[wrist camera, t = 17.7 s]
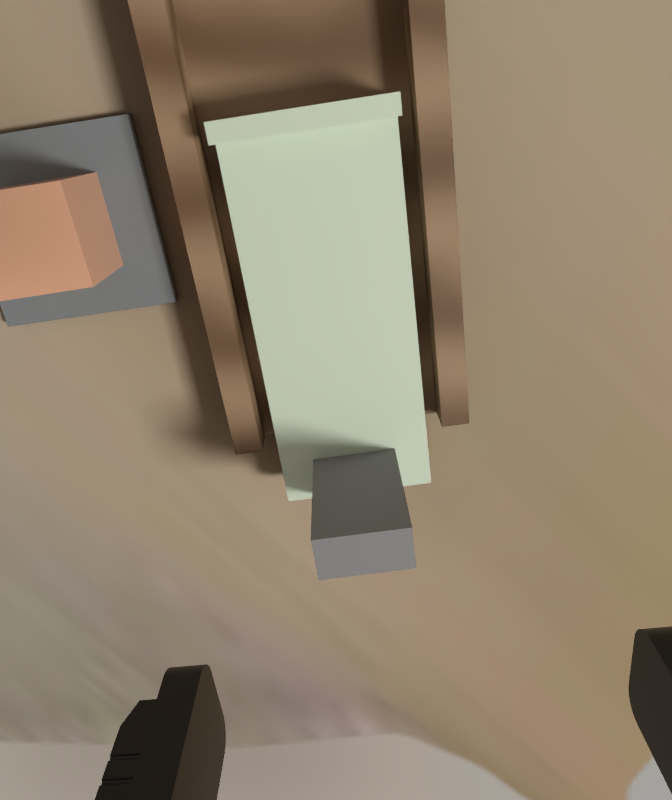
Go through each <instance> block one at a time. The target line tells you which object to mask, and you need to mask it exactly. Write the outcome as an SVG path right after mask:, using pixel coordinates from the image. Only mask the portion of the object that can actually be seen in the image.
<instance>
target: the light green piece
mask: <svg viewBox="0 0 672 800" xmlns="http://www.w3.org/2000/svg"><path fill="white" fill-rule="evenodd" d="M398 116H402V104H401V93H400V91H399V92H393V93H386V94H380V95H374V96H367V97H361V98H354V99H348V100H342V101H335V102H329V103H322V104H316V105H310V106H303V107H297V108H291V109H284V110H278V111H271V112H265V113H259V114H252V115H246V116H239V117H233V118H227V119H220V120H214V121H208V122H204V127H205V131H206V136H207V141H208V146H209V145H216V150H217V154H218V159H219V164H220V169H221V174H222V179H223V184H224V189H225V193H226V198H227V203H228V208H229V213H230V218H231V223H232V227H233V232H234V237H235V242H236V247H237V252H238V257H239V262H240V266H241V271H242V276H243V281H244V286H245V291H246V296H247V301H248V305H249V310H250V315H251V320H252V325H253V330H254V335H255V339H256V344H257V349H258V354H259V359H260V364H261V369H262V374H263V378H264V383H265V388H266V393H267V398H268V403H269V408H270V413H271V417H272V422H273V427H274V432H275V437H276V442H277V447H278V451H279V456H280V461H281V466H282V471H283V476H284V481H285V486H286V490H287V495H288V500H289V501H294V500H302V499H310V498H312V522H311V543H312V548H313V554H314V559H315V564H316V569H317V574H318V579H319V580H324V579H332V578H340V577H348V576H356V575H364V574H372V573H380V572H388V571H396V570H404V569H412V568H416V559H415V550H414V541H413V532H412V525H411V521H410V516H409V511H408V507H407V502H406V498H405V493H404V488H403V486H409V485H417V484H425V483H431V475H430V464H429V453H428V442H427V431H426V421H425V410H424V399H423V388H422V377H421V366H420V355H419V344H418V333H417V322H416V311H415V300H414V289H413V278H412V267H411V256H410V245H409V234H408V223H407V212H406V201H405V190H404V179H403V168H402V157H401V147H400V136H399V125H398Z"/></svg>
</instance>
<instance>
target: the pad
mask: <svg viewBox="0 0 672 800" xmlns="http://www.w3.org/2000/svg"><path fill="white" fill-rule="evenodd" d="M93 172H97V176H98V179H99V182H100V186H101V189H102V193H103V196H104V200H105V203H106V207H107V210H108V214H109V217H110V220H111V224H112V227H113V231H114V234H115V238H116V241H117V245H118V248H119V252H120V255H121V258H122V262H123V266H122V267H120V268H119V269H118V270H116V271H115V272H113V273H112V274H111V275H109V276H108V277H107V278H105V279H104V280H102V281H101V282H100V283H98V284H97V285H96V286H94V287H90V288H83V289H77V290H70V291H64V292H57V293H51V294H44V295H38V296H31V297H25V298H18V299H12V300H5V301H0V306H1V309H2V312H3V314H4V317H5V320H6V322H7V325H8V327H9V326H16V325H23V324H29V323H36V322H43V321H50V320H57V319H64V318H71V317H78V316H85V315H92V314H99V313H105V312H112V311H119V310H126V309H133V308H140V307H147V306H154V305H161V304H168V303H175V302H176V301H177V300H178V299H177V295H176V291H175V287H174V283H173V279H172V275H171V271H170V268H169V264H168V260H167V256H166V252H165V248H164V244H163V240H162V236H161V232H160V228H159V224H158V220H157V216H156V212H155V208H154V204H153V200H152V196H151V192H150V188H149V184H148V181H147V177H146V173H145V169H144V165H143V161H142V157H141V153H140V149H139V145H138V141H137V137H136V133H135V129H134V125H133V121H132V117H131V114H124V115H118V116H111V117H105V118H99V119H93V120H86V121H80V122H74V123H67V124H61V125H55V126H48V127H42V128H36V129H29V130H23V131H17V132H10V133H4V134H0V188H1V187H6V186H13V185H19V184H25V183H31V182H37V181H44V180H50V179H56V178H62V177H68V176H75V175H81V174H87V173H93Z"/></svg>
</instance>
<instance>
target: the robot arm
mask: <svg viewBox="0 0 672 800" xmlns="http://www.w3.org/2000/svg"><path fill="white" fill-rule="evenodd" d="M629 698H630V703H631V707H632V711H633V714H634V717H635V720H636V722H637V724H638V726H639V728H640V730H641V732H642V734H643V736H644V738H645V741H646V743H647V745H648V747H649V749H650V751H651V753H652V755H653V757H654V759H655V761H656V763H657V765H658V767H659V769H660V771H661V773H662V775H663V777H664V779H665V781H666V783H667V785H668V787H669V789H670V791H671V793H672V627H661V628H649V629H639V630H637V631H636V633H635V638H634V646H633V654H632V663H631V671H630V679H629ZM225 741H226V732H225V721H224V716H223V712H222V709H221V705H220V701H219V698H218V694H217V690H216V687H215V683H214V680H213V676H212V672H211V669H210V667H209V666H208V665H195V666H183V667H171V668H168V669H167V671H166V672H165V674H164V677H163V680H162V684H161V687H160V690H159V694H158V697H157V699H152V700H140V701H139V702H138V704H137V705H136V706H135V708H134V709H133V710H132V711H131V713H130V714H129V715H128V717H127V718H126V719H125V721H124V722H123V723H122V725H121V726H120V729H119V731H118V734H117V737H116V740H115V743H114V746H113V749H112V752H111V755H110V757H111V758H110V761H108V764H107V766H106V769H105V772H104V775H103V778H102V785H101V786H99V789H98V792H97V795H96V798H95V800H217V794H218V789H219V783H220V776H221V771H222V765H223V759H224V753H225Z"/></svg>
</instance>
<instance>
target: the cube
mask: <svg viewBox="0 0 672 800" xmlns="http://www.w3.org/2000/svg"><path fill="white" fill-rule="evenodd" d="M122 266H123V262H122V258H121V255H120V252H119V248H118V245H117V241H116V238H115V234H114V231H113V227H112V224H111V220H110V217H109V214H108V210H107V207H106V203H105V200H104V196H103V193H102V189H101V186H100V182H99V179H98V176H97V172H93V173H87V174H81V175H75V176H68V177H62V178H56V179H50V180H44V181H37V182H31V183H25V184H19V185H13V186H6V187H1V188H0V301H5V300H12V299H18V298H25V297H31V296H38V295H44V294H51V293H57V292H64V291H70V290H77V289H83V288H90V287H94V286H96V285H97V284H98V283H100V282H101V281H102V280H104V279H105V278H107V277H108V276H109V275H111V274H112V273H113V272H115V271H116V270H118V269H119V268H120V267H122Z"/></svg>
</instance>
